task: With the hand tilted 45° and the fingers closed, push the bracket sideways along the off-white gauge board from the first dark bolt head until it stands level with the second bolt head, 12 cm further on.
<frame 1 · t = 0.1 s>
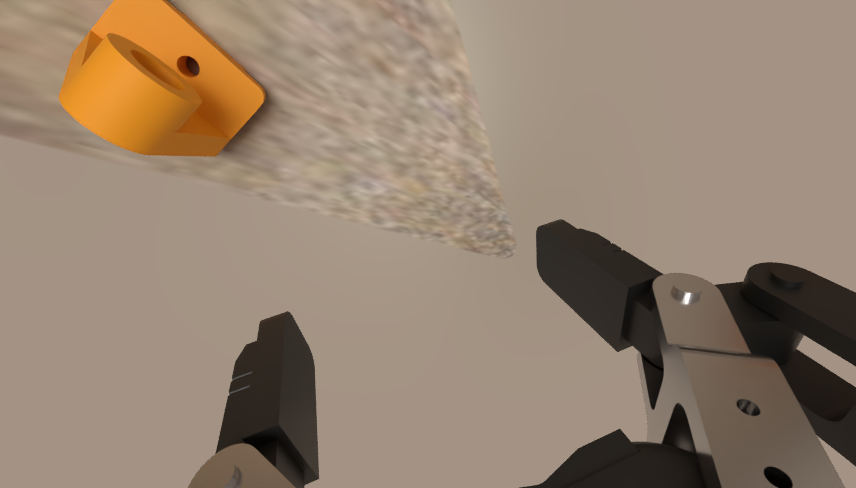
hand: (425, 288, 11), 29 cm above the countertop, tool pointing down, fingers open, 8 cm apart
bracket: (189, 74, 30), on the countertop
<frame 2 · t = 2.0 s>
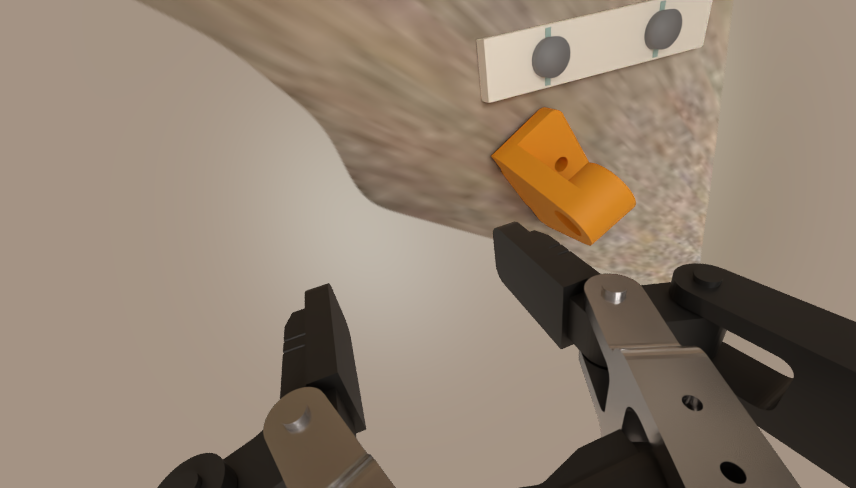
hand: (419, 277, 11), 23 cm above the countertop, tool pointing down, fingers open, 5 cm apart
gauge board: (593, 43, 33), on the countertop
bracket: (537, 164, 38), on the countertop
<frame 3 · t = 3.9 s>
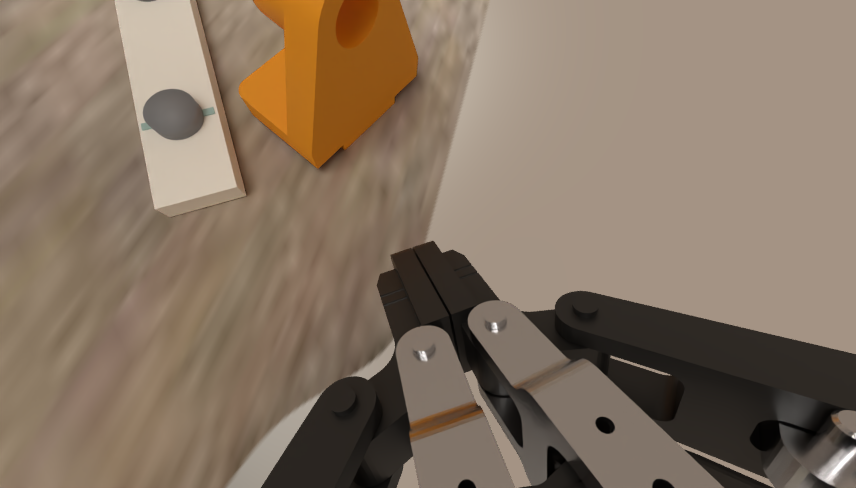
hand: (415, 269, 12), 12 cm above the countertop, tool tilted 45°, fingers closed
gauge board: (176, 64, 26), on the countertop
bracket: (335, 99, 27), on the countertop
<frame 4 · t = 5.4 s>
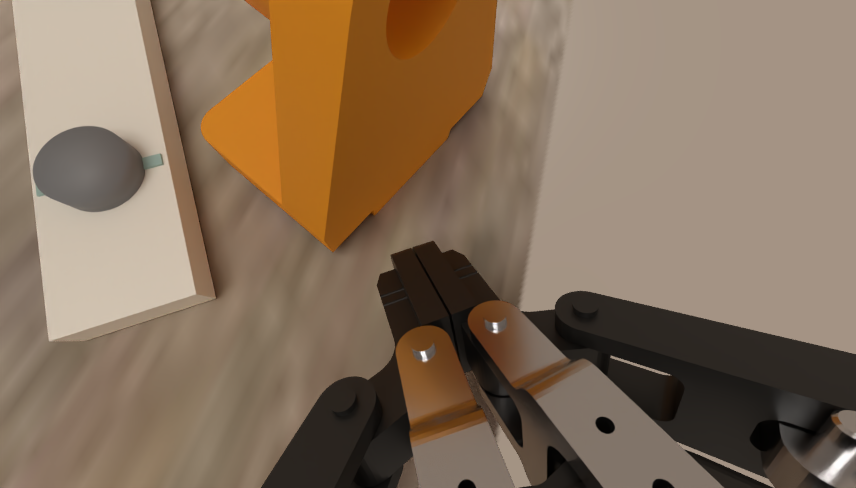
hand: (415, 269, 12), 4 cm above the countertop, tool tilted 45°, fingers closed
gauge board: (110, 81, 17), on the countertop
bracket: (358, 133, 17), on the countertop
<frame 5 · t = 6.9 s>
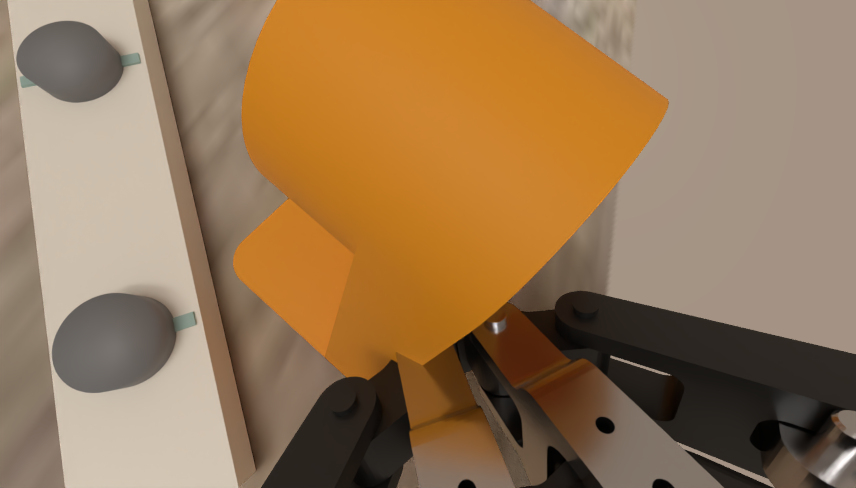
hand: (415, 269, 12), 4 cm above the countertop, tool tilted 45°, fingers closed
gauge board: (131, 206, 15), on the countertop
bracket: (397, 239, 16), on the countertop, touching gripper
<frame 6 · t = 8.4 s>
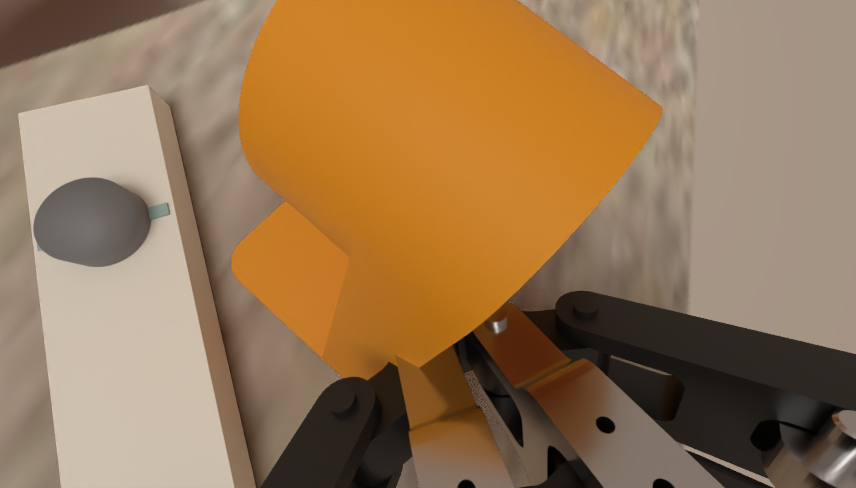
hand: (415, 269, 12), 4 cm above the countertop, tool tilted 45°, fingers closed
gauge board: (159, 375, 14), on the countertop
bracket: (395, 240, 16), on the countertop
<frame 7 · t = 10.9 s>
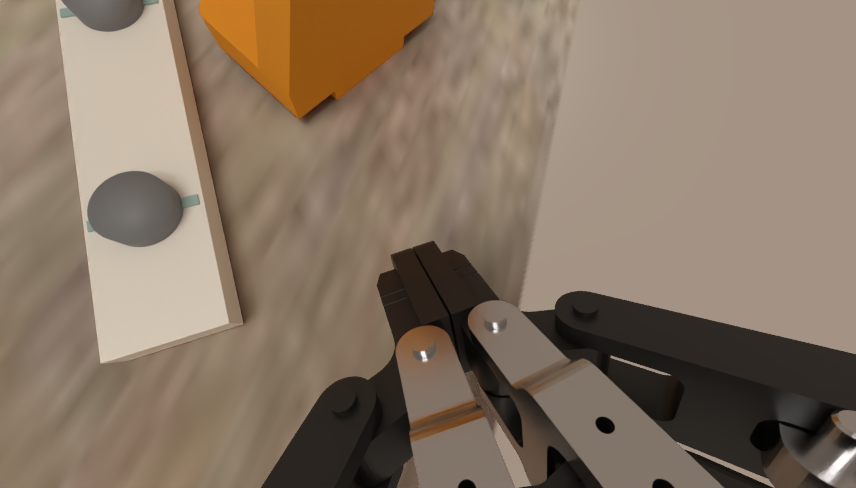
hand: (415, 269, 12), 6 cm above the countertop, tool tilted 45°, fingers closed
gauge board: (147, 120, 18), on the countertop
bracket: (329, 39, 21), on the countertop
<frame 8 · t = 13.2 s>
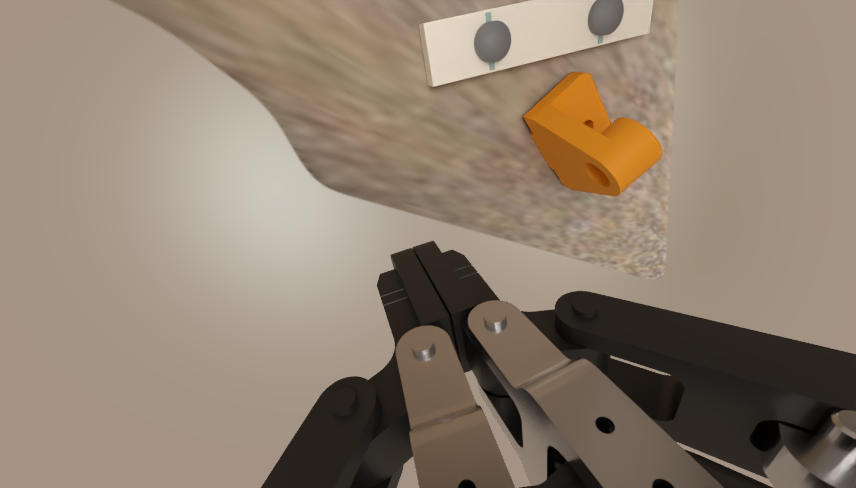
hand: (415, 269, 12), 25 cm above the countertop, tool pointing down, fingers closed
gauge board: (538, 29, 34), on the countertop
bracket: (563, 129, 40), on the countertop
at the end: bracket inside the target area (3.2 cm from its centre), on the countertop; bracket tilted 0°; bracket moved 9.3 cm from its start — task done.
